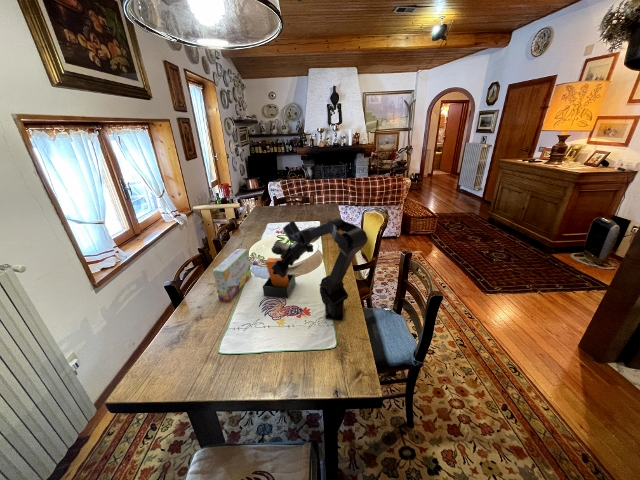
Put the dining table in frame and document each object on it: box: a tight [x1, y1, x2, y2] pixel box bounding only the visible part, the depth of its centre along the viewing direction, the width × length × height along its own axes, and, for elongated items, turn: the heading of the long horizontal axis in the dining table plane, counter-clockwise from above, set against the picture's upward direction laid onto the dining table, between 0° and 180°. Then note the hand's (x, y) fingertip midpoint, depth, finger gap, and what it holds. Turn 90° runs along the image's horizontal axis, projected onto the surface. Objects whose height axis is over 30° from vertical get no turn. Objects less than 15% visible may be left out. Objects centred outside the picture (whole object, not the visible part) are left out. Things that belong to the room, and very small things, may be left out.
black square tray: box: [262, 273, 296, 299], centre depth 113 cm, size 11×11×5 cm
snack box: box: [212, 248, 252, 302], centre depth 114 cm, size 21×6×15 cm, turn 168°
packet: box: [264, 257, 289, 287], centre depth 110 cm, size 7×3×13 cm, turn 72°
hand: (274, 271), depth 110 cm, fingers closed on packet, 3 cm apart
